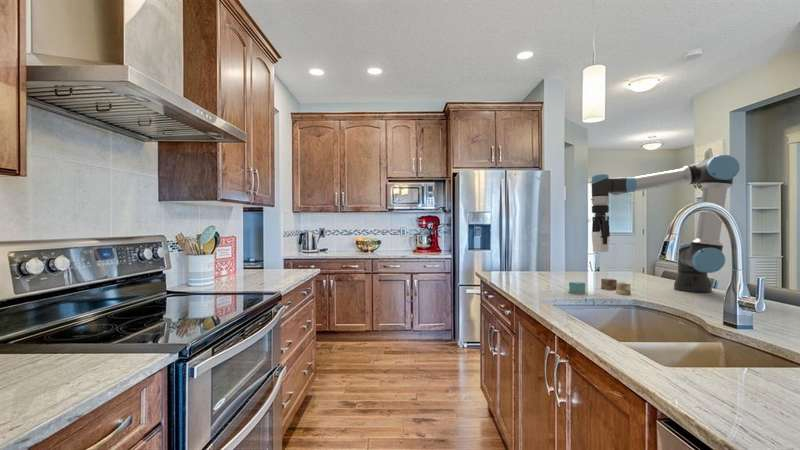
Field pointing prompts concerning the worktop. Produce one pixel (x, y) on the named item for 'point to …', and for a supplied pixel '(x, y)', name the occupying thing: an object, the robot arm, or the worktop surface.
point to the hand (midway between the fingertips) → (600, 250)
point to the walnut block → (608, 284)
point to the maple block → (623, 288)
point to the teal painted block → (577, 287)
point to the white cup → (598, 242)
